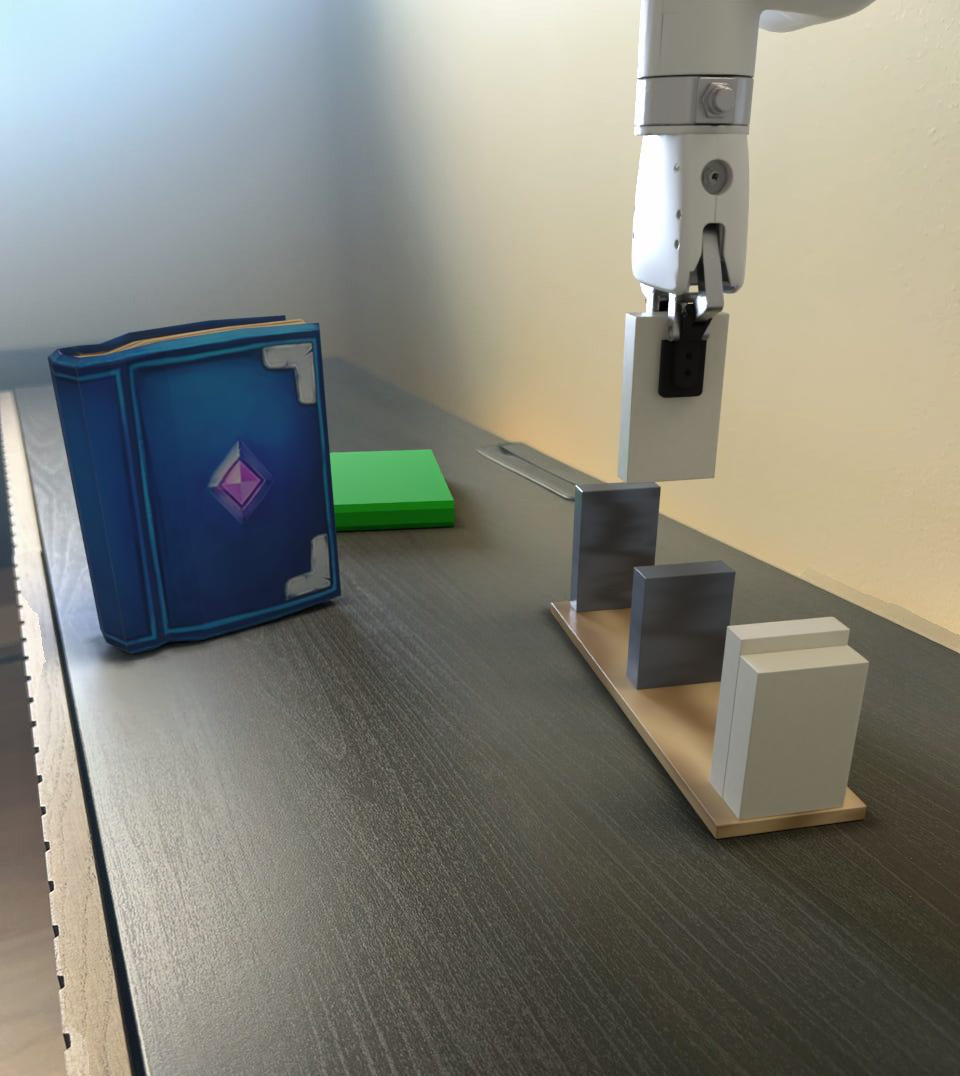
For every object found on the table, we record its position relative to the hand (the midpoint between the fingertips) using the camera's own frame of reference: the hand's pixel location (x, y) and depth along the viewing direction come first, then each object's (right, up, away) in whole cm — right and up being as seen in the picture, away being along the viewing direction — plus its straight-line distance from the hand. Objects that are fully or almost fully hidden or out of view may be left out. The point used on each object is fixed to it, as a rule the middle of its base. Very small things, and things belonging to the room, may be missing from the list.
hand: (672, 390), depth 77 cm
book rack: (+1, -23, +3) cm, 23 cm away
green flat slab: (-33, -2, +47) cm, 57 cm away
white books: (+5, -28, -11) cm, 30 cm away
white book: (0, -6, +3) cm, 7 cm away
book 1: (-37, -17, +16) cm, 43 cm away
